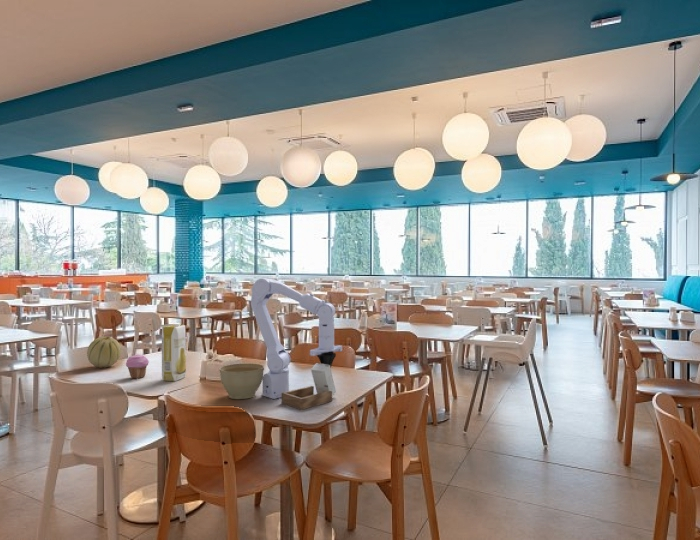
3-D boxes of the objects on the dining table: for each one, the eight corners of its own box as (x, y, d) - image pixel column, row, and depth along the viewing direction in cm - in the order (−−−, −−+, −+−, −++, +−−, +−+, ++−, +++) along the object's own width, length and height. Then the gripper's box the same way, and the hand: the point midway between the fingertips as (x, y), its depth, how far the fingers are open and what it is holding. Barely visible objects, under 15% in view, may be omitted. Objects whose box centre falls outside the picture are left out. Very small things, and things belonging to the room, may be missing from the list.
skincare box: (317, 396, 174) (309, 369, 170) (323, 389, 178) (315, 362, 173) (331, 399, 171) (323, 371, 167) (337, 391, 175) (329, 364, 170)
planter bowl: (273, 395, 176) (273, 366, 176) (236, 405, 164) (236, 374, 164) (247, 388, 187) (247, 360, 187) (211, 396, 175) (210, 367, 174)
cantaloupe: (98, 363, 234) (97, 333, 234) (127, 364, 233) (126, 333, 233) (79, 370, 219) (79, 338, 219) (110, 370, 218) (110, 338, 218)
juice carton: (176, 382, 197) (175, 324, 197) (159, 381, 198) (158, 324, 198) (188, 376, 206) (187, 321, 206) (171, 376, 207) (171, 321, 207)
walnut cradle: (301, 409, 159) (301, 399, 159) (281, 403, 166) (281, 392, 166) (331, 401, 169) (331, 391, 168) (311, 395, 176) (311, 385, 176)
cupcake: (137, 380, 199) (137, 357, 199) (121, 379, 202) (121, 355, 202) (152, 376, 208) (152, 353, 208) (137, 374, 211) (136, 352, 210)
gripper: (318, 339, 166) (318, 377, 166) (348, 335, 176) (348, 371, 176) (306, 337, 171) (306, 374, 171) (335, 333, 181) (335, 368, 181)
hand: (326, 372), depth 174 cm, fingers closed
